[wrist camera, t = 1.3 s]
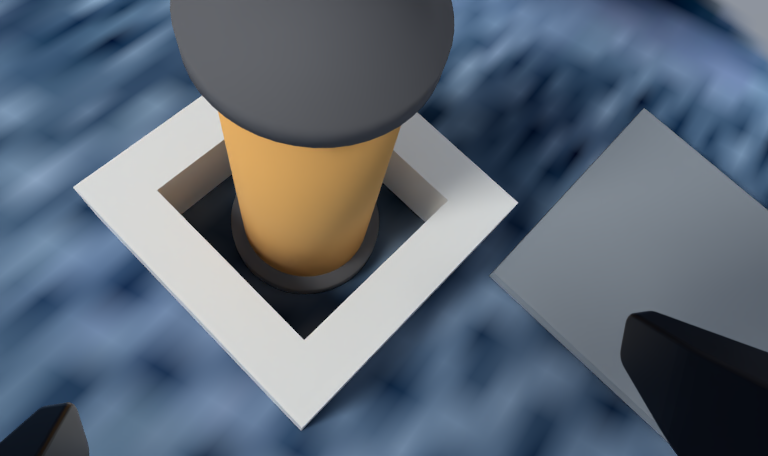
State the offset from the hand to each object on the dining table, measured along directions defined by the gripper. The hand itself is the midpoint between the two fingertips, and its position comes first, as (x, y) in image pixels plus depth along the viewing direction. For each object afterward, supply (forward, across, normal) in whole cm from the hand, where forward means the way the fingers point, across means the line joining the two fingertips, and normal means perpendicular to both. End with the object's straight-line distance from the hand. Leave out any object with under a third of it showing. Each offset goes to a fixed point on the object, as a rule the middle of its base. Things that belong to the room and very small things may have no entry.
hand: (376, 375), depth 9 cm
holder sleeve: (+15, 0, +4) cm, 16 cm away
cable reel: (+15, 0, +4) cm, 16 cm away
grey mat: (+12, -16, +7) cm, 21 cm away
